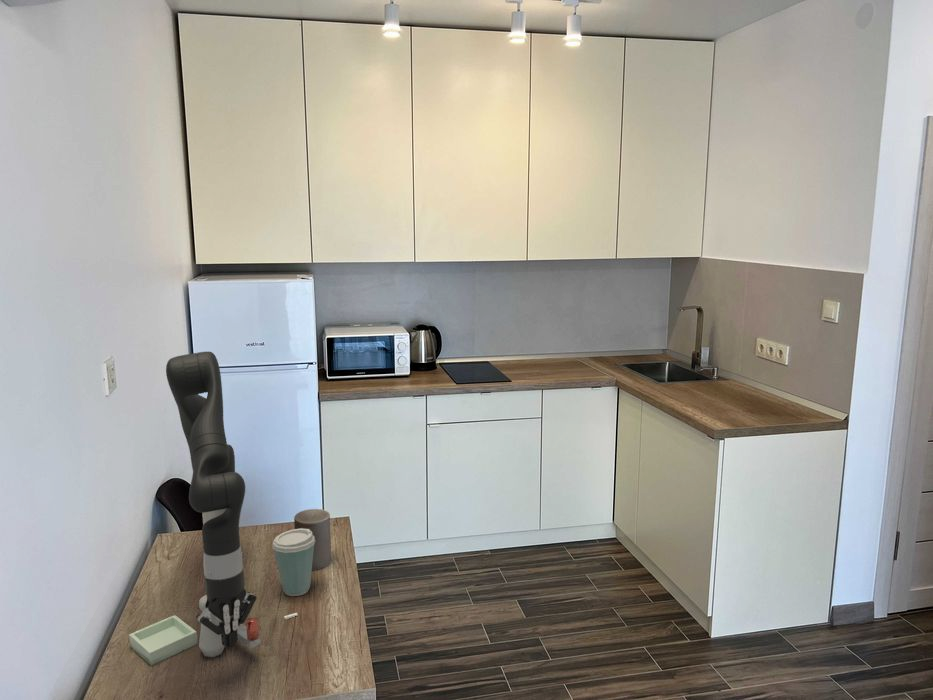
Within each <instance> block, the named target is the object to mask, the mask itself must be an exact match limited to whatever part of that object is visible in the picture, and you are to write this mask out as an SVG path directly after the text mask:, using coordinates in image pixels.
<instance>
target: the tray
mask: <svg viewBox="0 0 933 700" xmlns="http://www.w3.org/2000/svg"><path fill="white" fill-rule="evenodd" d="M197 634H198V633H197V631H196V630H195V629H193V627H191V626H190V625H189V624H187V623H186V622H184V621H183V620H182V619H181V618H180V617H178V616H177V615H176V614H175V615H172V616H169V617H167V618H165V619H162V620H160V621H157V622H155V623H152V624H151V625H148V626H145V627H143V628H141V629H139V630H137V631H134V632H131V633H129V634H128V637H129V645H130V648H131V649H132V650H133V651H134V650H135V651H136V654H137V655H138V656H139V657H141V658H142V659H143V660H144V661H145V662H147V664H148V665H150V666H151V667H152V666H154V665H156V664H158V663H160V662H162V661H164V660H167V659H168V658H171V657H173V656H175V655H177V654H179V653H182V652H184V651H186V650H188V649H190V648H192V647H194V646H196V644H197V645H199V641H198V635H197ZM183 650H184V651H183ZM135 651H134V652H135Z"/></svg>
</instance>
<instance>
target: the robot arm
mask: <svg viewBox="0 0 933 700" xmlns="http://www.w3.org/2000/svg"><path fill="white" fill-rule="evenodd" d="M165 371H166V372H165V374H166V375H165V376H166V378H167V383H168V385H169V389H170V392H171V394H172V396H173V398H174V401H175V404H176V406H177V409H178V413H179V419H180V423H181V426H182V427H181V428H182V430H183V434H184V437H185V439H186V443H187V445H188V450H189V457H190V462H191V467H192V476H191V482H190V486H189V489H188V490H189V491H188V501H189V505H190V506H191V508H192V509H193V510H194V511H195V512H197V513H200V514H201V513H202V524H203V525H202V528H201V535H202V548H203V558H202V562H203V563H202V564H203V574H204V587H205V595H207V601H206V604H205V607H206V609H205V610H204V611H203V613H202V612H201V613H198V614H197V615H196V616H195V620H196V621H197V622H199V623H200V624H201V623H202V624H203V625H204V626H206V627H207V628H209V629H210V630H211V631H213V632H214V633H216V634H217V635H220V634H221V639H222V645H223V646H225V647H224V648H226V649H228V650H232V649H233V648H235V647H237V643H238V642H239V640H238V636H237V628H238V626H239V625H240V624H242V625H244V624H246V620H247V619H248V617H249V615H250V612H251V611H252V609H253V607H254V605H255V603H256V601H257V599H258V598H257V596H256V595H255V594H253V593H251V592H249V591H247V589H246V588H245V585H246V584H245V574H244V560H243V553H242V549H241V547H242V546H241V535H240V534H241V533H240V519H241V512H242V508H243V504H244V501H245V496H246V495H245V494H246V483H245V480H244V478H243V476H242V475H241V474H240V473H238V472H236V458H235V450H234V447H232V445H231V444H228V442H227V436H226V432H225V431H226V430H225V423H224V422H225V421H224V398H223V386H222V384H223V383H222V376H221V368H220V365H219V361H218V359H217V356H216V355H215V354H214V352H212V351H200V352H194V353H187V354H182V355H177V356H174V357H173V356H172V357H171V358H169V359H168V361H167V362H166V367H165ZM204 393H205V394H206V393H207V395H206V397H204V396H203V395H201V394H204ZM210 613H212V614H213V615H214V616H216V619H217V621H218V625H215V624H213V623H212V622H211V616H210Z"/></svg>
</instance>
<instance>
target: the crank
mask: <svg viewBox="0 0 933 700" xmlns="http://www.w3.org/2000/svg"><path fill="white" fill-rule="evenodd" d="M258 621H259V619H258V617H256V616H255V617H254V616H251V617H249V618H248V617H247V619H246V621H245V625H244V624H240V625H239V626H238V628H237V636H238V642H239V641H240V642H241V643H242V644H243V645H245V646H247V647H248V648H249V649H250V650H251V649H252V648H254V647H257V646H259V645H261V637H260V633H259V622H258Z"/></svg>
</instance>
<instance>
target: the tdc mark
mask: <svg viewBox="0 0 933 700" xmlns="http://www.w3.org/2000/svg"><path fill="white" fill-rule="evenodd" d="M295 616H297V617H298V616H299V615H298V612H294V613H290V614H286V615H285V616H283V617H284V618H283V619H284V620H289V618H290V619H293V618H296V617H295ZM292 617H293V618H292Z"/></svg>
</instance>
